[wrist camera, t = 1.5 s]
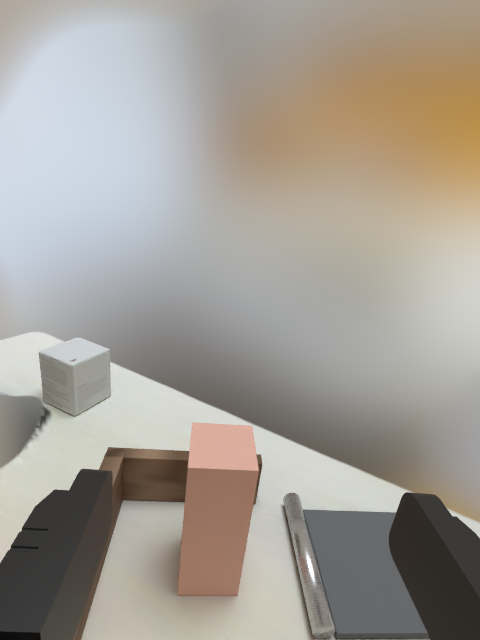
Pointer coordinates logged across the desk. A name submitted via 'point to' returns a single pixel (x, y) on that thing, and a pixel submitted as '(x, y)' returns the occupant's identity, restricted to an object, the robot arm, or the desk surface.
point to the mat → (362, 575)
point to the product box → (75, 375)
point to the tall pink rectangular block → (217, 508)
